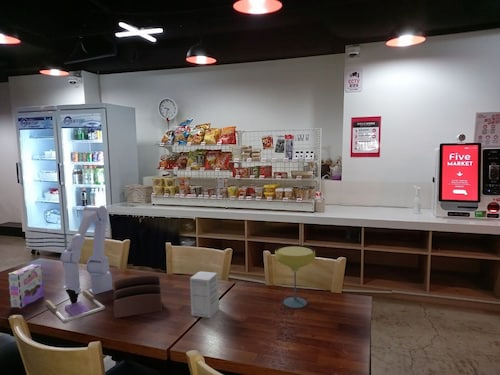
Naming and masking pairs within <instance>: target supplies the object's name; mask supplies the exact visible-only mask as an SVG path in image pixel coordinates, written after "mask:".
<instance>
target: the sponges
mask: <svg viewBox="0 0 500 375" xmlns="http://www.w3.org/2000/svg"><path fill="white" fill-rule="evenodd" d="M64 310H65V311H66V312H67V313H68V314H69V315H70V317H72V316H75V315H78V314H82V313H85V312H88V311H91V310H90V309H89V308H88V307H87V306H86V305H85V304H84V303H83V302H82V301H81V300H80V301H77V302H76V303H73V304H71V303H70V304H66V305H64Z"/></svg>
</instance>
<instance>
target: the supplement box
mask: <svg viewBox="0 0 500 375" xmlns="http://www.w3.org/2000/svg"><path fill="white" fill-rule="evenodd" d="M218 275H219V274H218V272H212V271H211V272H210V271H198V272H196V273H195V274H194V275H192V276H191V277H189V288H190V289H189V290H190V309H191V310H190V313H191V316H194V317H200V318H201V317H202V318H209V319H211V318H212V317H213V316H214V315H215V314H216V313H217V312H218V311H219V310H220V300H219V299H220V297H219V295H220V294H219V278H218V277H219V276H218Z"/></svg>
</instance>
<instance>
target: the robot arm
mask: <svg viewBox="0 0 500 375" xmlns="http://www.w3.org/2000/svg"><path fill="white" fill-rule="evenodd" d="M81 215H82V216H81V217H82V219H81V221H80V225H79V226H78V230H77V232H76V234H73V235H72V237H71V239H70V241H69V244H68V246H67V248H66V249H65V250H64V251H62V253H61V255H60V258H59V259H60V261H61V262H62V263H61V264H62V266H63V268H64V269H63V270H64V279H65V281H64V282H65V285H64V286H62V289H64V290H65V292H66V293H67V296H68V298H69V302H70V304H73V303H76V302H78V299H79V295H80V293H82V292H81V290H82V289H81V283H80V271H79V269H80V268H79V261H80V260H81V258H82V257H81V256H82V248H83V246H84V244H85V241H86V238H85V235H86V234H87V232H88V230H89V228H90V226H91V225H92V223H93V224H94V231H93V244H92V255H91V256H89V257H88V258H87V263H86V265H85V266H86V267H85V270H86V272H87V273H88V274H89V275H90V285H91V288H89V289H88V292H89V293H90V292H91V294H92V295H93V296H95V295H98V294H101V293H105V292H108V291H111V290H114V288H113V279H112V277H113V276H112V274H111V272H110V271H109V269H110V263H109V258H108V256H106V254H105V244H106V231H107V230H106V228H107V221H108V209H107V207H105V206H104V205H90V204H89V205H85V206H84V208H83V209H82V212H81Z"/></svg>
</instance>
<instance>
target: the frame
mask: <svg viewBox="0 0 500 375" xmlns="http://www.w3.org/2000/svg"><path fill="white" fill-rule="evenodd" d="M92 302H93V303H94V304H95V305H97V308H94V309H91V310H90V311H88V312H85V313H82V314H78V315H75V316H69V317H66V318H65V316H63V315H62V313H61V312H60V311H58V310H57V312H55V315H56V316H57V317H58V318H59V319H60V320H61V322H62V323H67V322H70V321H73V320H76V319H78V318H81V317H85V316H87V315H91V314H94V313H98V312H99V311H103V310H105V309H106V306H105V305H103V304H102V302H99V301H98V300H97V299H95V300H93V301H92Z"/></svg>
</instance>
